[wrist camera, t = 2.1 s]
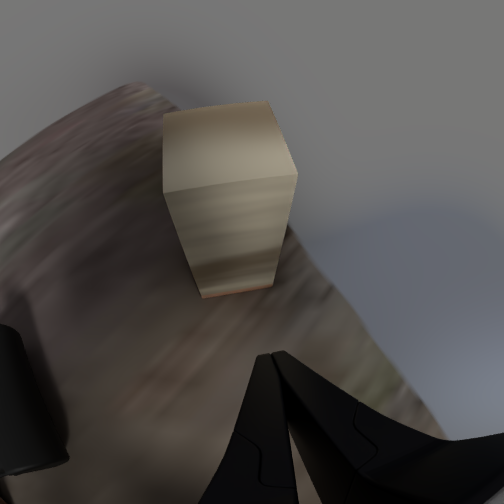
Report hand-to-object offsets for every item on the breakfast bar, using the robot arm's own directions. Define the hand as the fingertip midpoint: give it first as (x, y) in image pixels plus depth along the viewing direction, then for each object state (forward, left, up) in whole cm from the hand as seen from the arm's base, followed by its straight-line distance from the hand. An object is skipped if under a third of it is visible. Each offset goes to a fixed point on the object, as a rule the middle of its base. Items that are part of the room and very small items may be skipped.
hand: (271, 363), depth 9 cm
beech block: (+9, 0, -11) cm, 14 cm away
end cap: (-1, +18, -11) cm, 21 cm away
